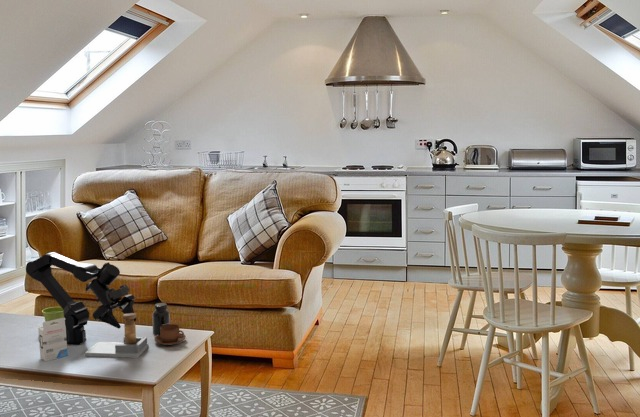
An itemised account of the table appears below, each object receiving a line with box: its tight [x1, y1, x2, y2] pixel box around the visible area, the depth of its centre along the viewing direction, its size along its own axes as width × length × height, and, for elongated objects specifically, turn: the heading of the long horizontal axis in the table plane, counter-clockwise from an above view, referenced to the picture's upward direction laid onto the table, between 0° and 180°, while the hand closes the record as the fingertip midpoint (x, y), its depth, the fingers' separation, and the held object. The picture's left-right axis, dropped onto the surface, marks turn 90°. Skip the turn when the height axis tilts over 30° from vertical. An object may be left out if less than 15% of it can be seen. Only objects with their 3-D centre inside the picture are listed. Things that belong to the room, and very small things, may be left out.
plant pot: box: [41, 306, 64, 325], centre depth 282 cm, size 9×9×9 cm
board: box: [84, 336, 150, 358], centre depth 258 cm, size 20×12×4 cm, turn 85°
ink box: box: [37, 318, 68, 362], centre depth 251 cm, size 8×5×15 cm, turn 133°
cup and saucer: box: [154, 323, 186, 346], centre depth 268 cm, size 12×12×6 cm
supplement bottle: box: [152, 302, 171, 336], centre depth 278 cm, size 7×7×12 cm
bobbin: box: [122, 312, 137, 345], centre depth 257 cm, size 5×5×13 cm
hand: (127, 324), depth 257 cm, fingers open, 9 cm apart
